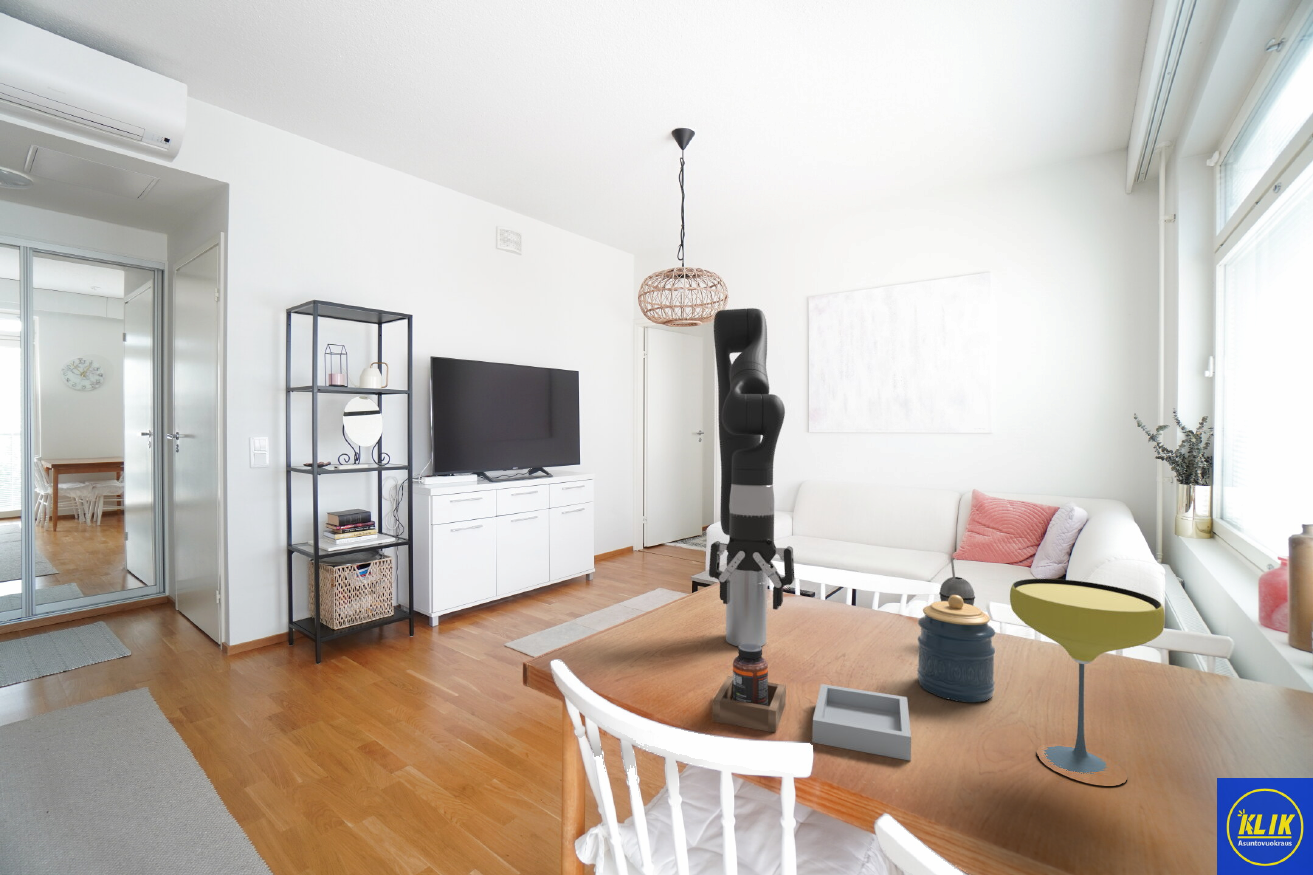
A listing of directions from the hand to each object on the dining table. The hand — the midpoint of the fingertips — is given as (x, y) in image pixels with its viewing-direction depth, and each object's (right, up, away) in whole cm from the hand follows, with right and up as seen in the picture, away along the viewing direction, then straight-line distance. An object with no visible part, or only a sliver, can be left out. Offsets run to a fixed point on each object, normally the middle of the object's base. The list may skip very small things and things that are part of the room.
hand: (750, 605), depth 101 cm
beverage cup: (+52, -19, +33) cm, 64 cm away
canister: (+40, -19, +11) cm, 46 cm away
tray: (+17, -19, -5) cm, 26 cm away
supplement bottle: (0, -19, 0) cm, 19 cm away
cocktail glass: (+46, -19, -15) cm, 52 cm away
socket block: (0, -18, 0) cm, 18 cm away
